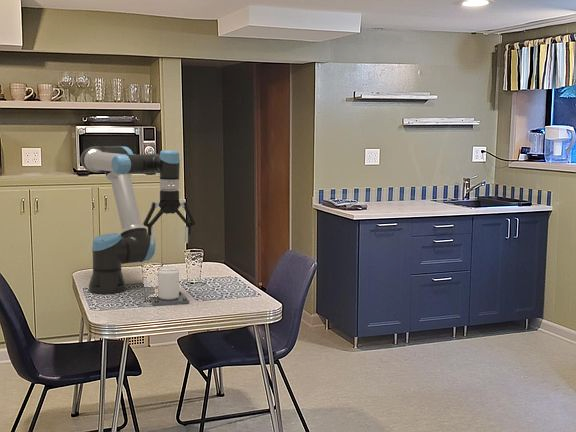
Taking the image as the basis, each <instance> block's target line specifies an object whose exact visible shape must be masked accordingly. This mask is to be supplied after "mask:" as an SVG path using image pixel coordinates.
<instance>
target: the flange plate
mask: <svg viewBox="0 0 576 432" xmlns="http://www.w3.org/2000/svg"><path fill="white" fill-rule="evenodd" d="M149 298H150V300H149V302H150V301H151V302H150V303H151V304H152V306H153V307H159V306H160V307H161V306H172V305H173V306H175V305H176V306H177V305H188V304H190V300H189V299H188V298H187V296H186V295H185V294H184V293H183V292H182V291H180V290H179V297H178V298H176V299H173V300H163V299H161V298H159V297H158V296H157V297H149Z"/></svg>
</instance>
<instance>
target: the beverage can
mask: <svg viewBox="0 0 576 432" xmlns="http://www.w3.org/2000/svg"><path fill="white" fill-rule="evenodd" d="M157 288H158V297H159V298H161V299H163V300H173V299H176V298H178V297H179V291H180V271H179V269H178V267H176V266H161V267H159V270H158V271H157Z"/></svg>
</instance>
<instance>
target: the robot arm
mask: <svg viewBox="0 0 576 432" xmlns="http://www.w3.org/2000/svg"><path fill="white" fill-rule="evenodd" d="M180 161H181V160H180V152H179V151H178V150H172V149H171V150H167V149H166V150H165V149H164V150H161V151H160V152H159V154H158V153H149V154H147V153H146V154H145V153H144V154H139V153H138V154H134V153H133V151H132V149H130V147H128V146H121V145H116V146H114V145H111V146H110V145H109V146H108V145H106V146H105V145H103V146H102V145H99V146H98V145H94V146H90V147H88V148H86V149H85V150H84V151H82V153H81V155H80V164H81V166H82V168H83V169H84V170H85V171H88V172H91V173H102V174H103V173H104V174H105V177H106V179H107V180H108V181H110V184H111V188H112V192H113V196H114V200H115V205H116V208H117V213H118V217H119V222H120V226H121V229H122V231H121V232H120V233H118V232H117V233H116V232H115V233H114V232H113V233H105V234H100V235H97V236H95V237H94V238H93V240H92V247H91V251H92V275H91V278H90V281H89V283H88V291H89V293H92V294H99V295H101V294H102V295H109V294H110V295H111V294H119V293H123V292H125V291H126V290H127V283H126V281H125V278H124V275H123V271H122V265H126V264H132V263H133V264H134V263H143V262H149V261H151V259H153V257H154V255H155V252H156V247H157V246H156V239H155V236H154V227H153V225H154V224H155V223H156V222H157V221H158V220H159V218H160V217H161V216H162V215H163V214H166V215H168V214H173V215H174V214H175V213H176V214H177V216H178V217H179V218H180V219H181V220H182V221H183V222H184V223H185V226H184V243H185V244H188V243H189V235H191V232H192V226H195V225H196V222H195V220H194V217H193V215H192V214H191V212H190V210H189V207H188V203H187V201H183V202H182V201H181V202H180V190H179V189H180ZM133 174H159V189H161V190H160V191H159V202H154V201H152V202H151V203H150V209H149V211H148V213H147V214H146V217H145V218H144V221H143V223H142V220H141V216H140V212H139V206H138V204H137V199H136V196H135V190H134V187H133V183H132V175H133ZM158 207H159V208H160V209H159V210H158V212H157V213H156V214H155V216H153V214H154V212H155V210H156V209H157V208H158ZM180 207H182V208H183V210H184V211H185V213H186V216H187V217H188V219H189V221H188V219H187V218H186V217H185V216H184V215H183V213H181V211H180V210H179V208H180ZM152 216H153V218H152V219H151V217H152ZM146 227H147V228H146Z"/></svg>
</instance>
